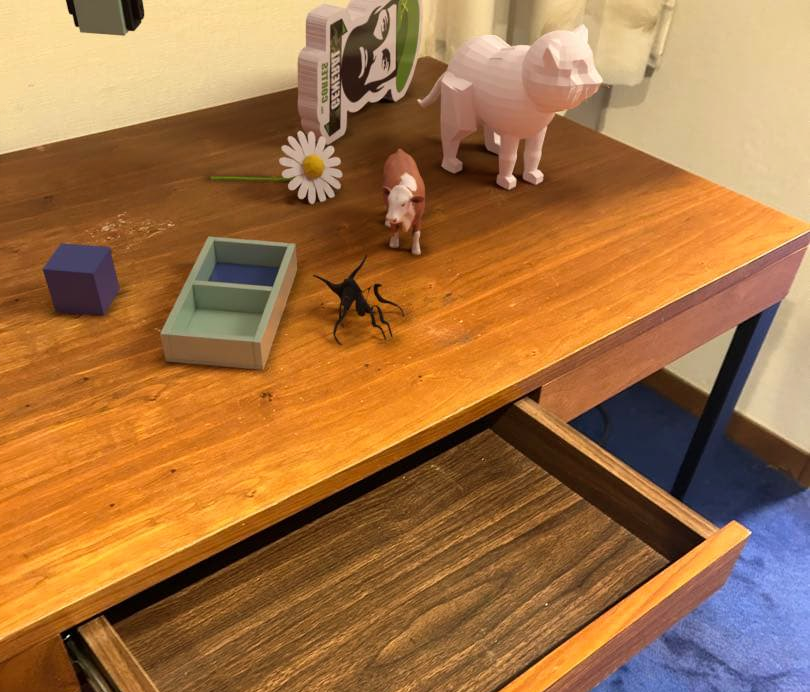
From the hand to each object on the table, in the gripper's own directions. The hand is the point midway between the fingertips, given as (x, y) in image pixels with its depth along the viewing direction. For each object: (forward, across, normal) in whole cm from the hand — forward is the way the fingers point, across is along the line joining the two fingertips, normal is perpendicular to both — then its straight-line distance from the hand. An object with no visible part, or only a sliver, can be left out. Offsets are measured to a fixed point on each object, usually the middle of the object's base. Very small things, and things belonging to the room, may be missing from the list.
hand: (108, 22), depth 88 cm
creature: (+15, -30, +28) cm, 43 cm away
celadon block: (0, 0, 0) cm, 0 cm away
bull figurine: (+15, -32, +12) cm, 37 cm away
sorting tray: (+15, -18, +28) cm, 36 cm away
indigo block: (+15, -4, +28) cm, 32 cm away
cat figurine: (+15, -41, -6) cm, 44 cm away
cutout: (+15, -24, -19) cm, 34 cm away
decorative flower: (+15, -17, +4) cm, 23 cm away
